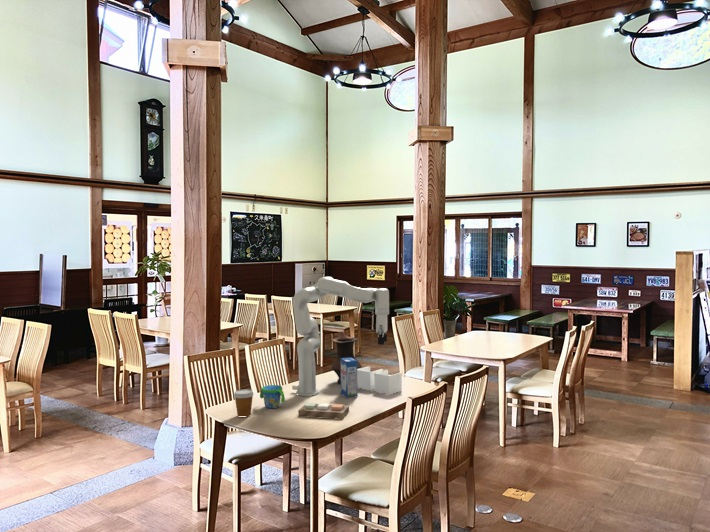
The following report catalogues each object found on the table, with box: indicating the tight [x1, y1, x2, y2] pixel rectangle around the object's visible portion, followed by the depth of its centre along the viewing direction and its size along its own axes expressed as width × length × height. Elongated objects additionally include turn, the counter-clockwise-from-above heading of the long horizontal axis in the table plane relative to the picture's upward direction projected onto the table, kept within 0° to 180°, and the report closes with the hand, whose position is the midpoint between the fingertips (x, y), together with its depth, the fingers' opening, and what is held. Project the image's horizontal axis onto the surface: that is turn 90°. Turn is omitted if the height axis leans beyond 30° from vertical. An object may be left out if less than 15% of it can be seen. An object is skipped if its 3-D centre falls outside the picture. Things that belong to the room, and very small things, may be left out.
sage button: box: [303, 402, 318, 409], centre depth 270 cm, size 5×5×3 cm
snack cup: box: [259, 384, 286, 409], centre depth 282 cm, size 16×10×10 cm
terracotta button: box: [331, 403, 345, 411], centre depth 267 cm, size 5×5×3 cm
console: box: [297, 403, 350, 420], centre depth 268 cm, size 23×12×3 cm, turn 77°
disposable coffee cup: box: [233, 388, 254, 417], centre depth 267 cm, size 10×10×12 cm
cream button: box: [318, 402, 331, 410], centre depth 268 cm, size 5×5×3 cm
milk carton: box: [340, 357, 359, 399], centre depth 302 cm, size 10×6×20 cm, turn 22°
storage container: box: [357, 366, 403, 395], centre depth 314 cm, size 25×11×11 cm, turn 46°
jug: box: [330, 331, 363, 385], centre depth 332 cm, size 21×18×30 cm
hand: (382, 342), depth 294 cm, fingers open, 9 cm apart
